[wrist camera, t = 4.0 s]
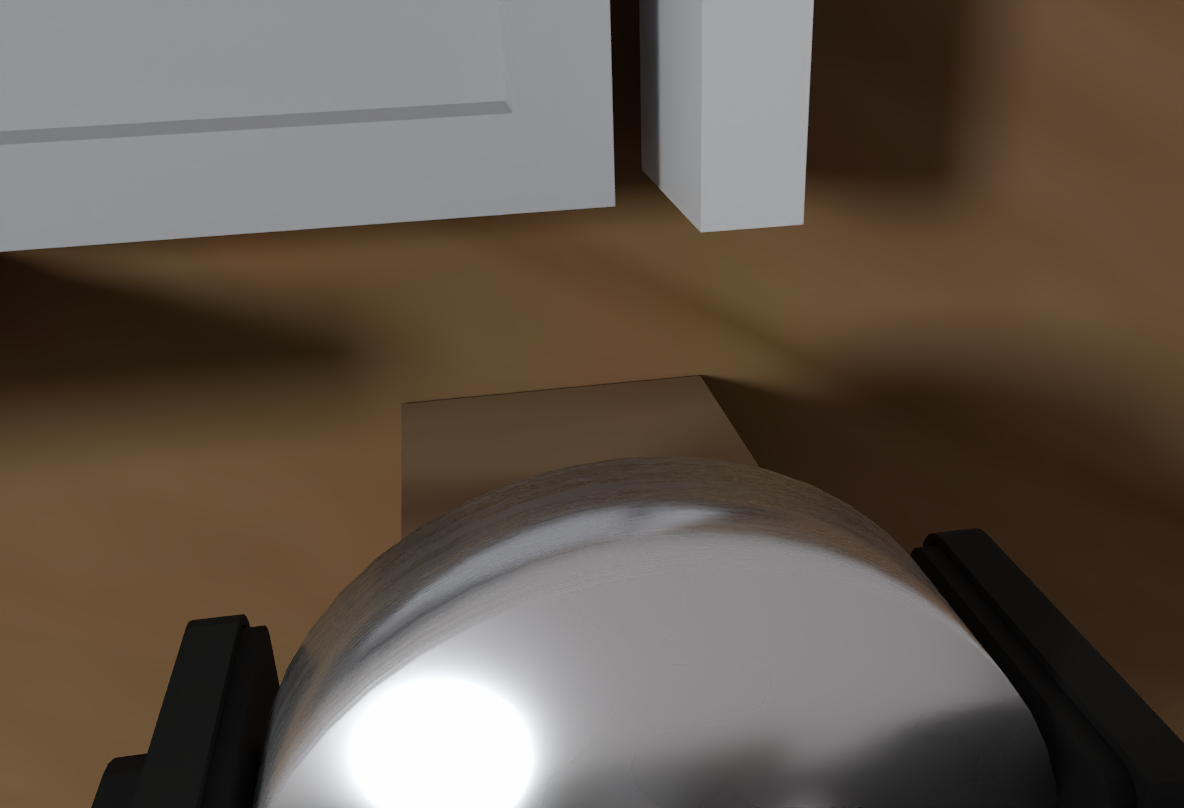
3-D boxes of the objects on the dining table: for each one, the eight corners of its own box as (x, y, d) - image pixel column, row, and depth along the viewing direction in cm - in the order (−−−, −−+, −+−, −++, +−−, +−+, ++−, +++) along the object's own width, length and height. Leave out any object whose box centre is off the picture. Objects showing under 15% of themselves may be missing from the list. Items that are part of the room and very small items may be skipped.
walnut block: (698, 620, 16) (810, 887, 12) (431, 653, 16) (442, 945, 11) (699, 375, 15) (831, 578, 10) (401, 404, 14) (401, 631, 10)
